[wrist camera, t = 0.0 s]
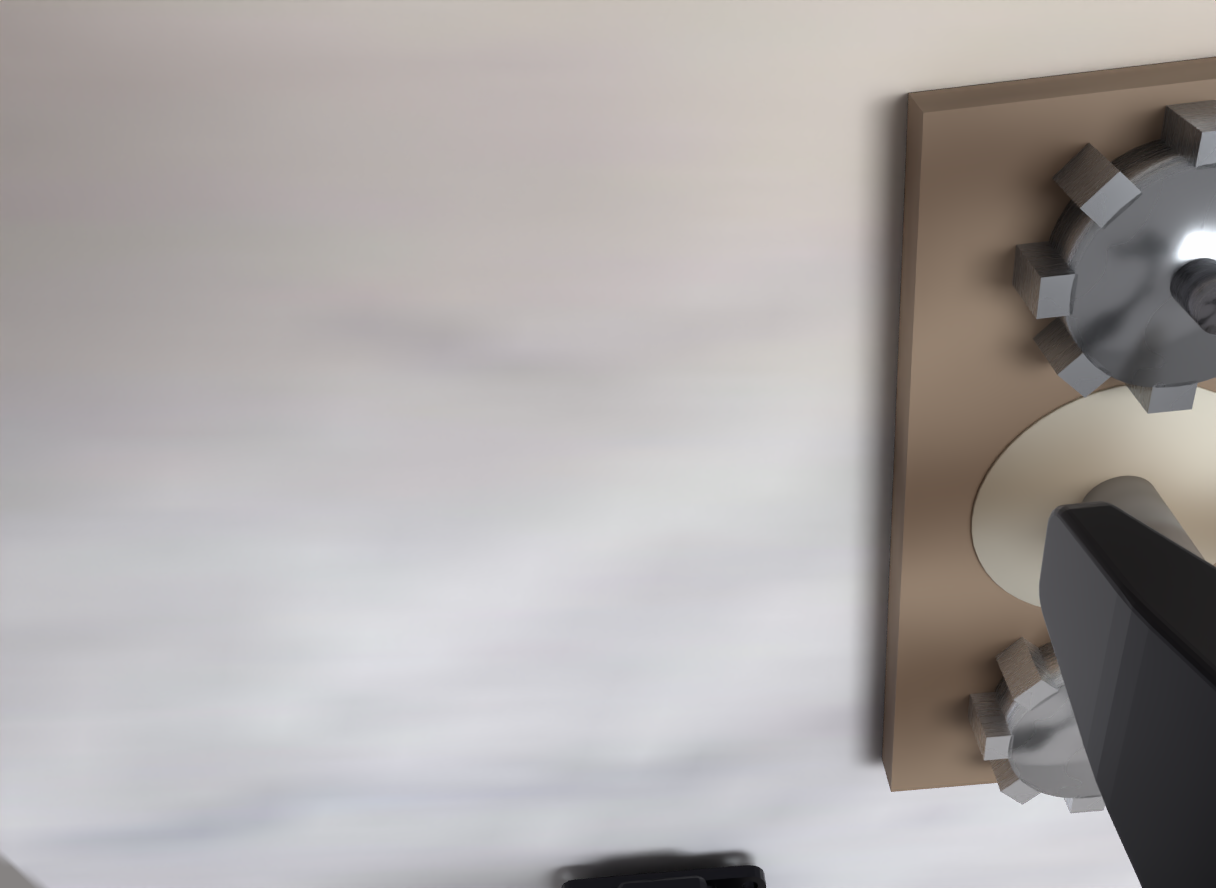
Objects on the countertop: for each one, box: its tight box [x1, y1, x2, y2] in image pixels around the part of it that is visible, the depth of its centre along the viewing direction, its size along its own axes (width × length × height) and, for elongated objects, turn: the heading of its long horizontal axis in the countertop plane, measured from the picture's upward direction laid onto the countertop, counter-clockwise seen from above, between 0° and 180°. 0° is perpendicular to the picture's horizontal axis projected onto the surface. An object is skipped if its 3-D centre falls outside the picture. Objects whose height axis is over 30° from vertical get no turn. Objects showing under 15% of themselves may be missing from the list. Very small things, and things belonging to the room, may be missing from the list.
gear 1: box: [968, 637, 1105, 813], centre depth 29 cm, size 6×6×3 cm
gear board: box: [882, 57, 1216, 792], centre depth 25 cm, size 20×10×5 cm, turn 7°
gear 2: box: [1012, 100, 1216, 414], centre depth 22 cm, size 6×6×3 cm
